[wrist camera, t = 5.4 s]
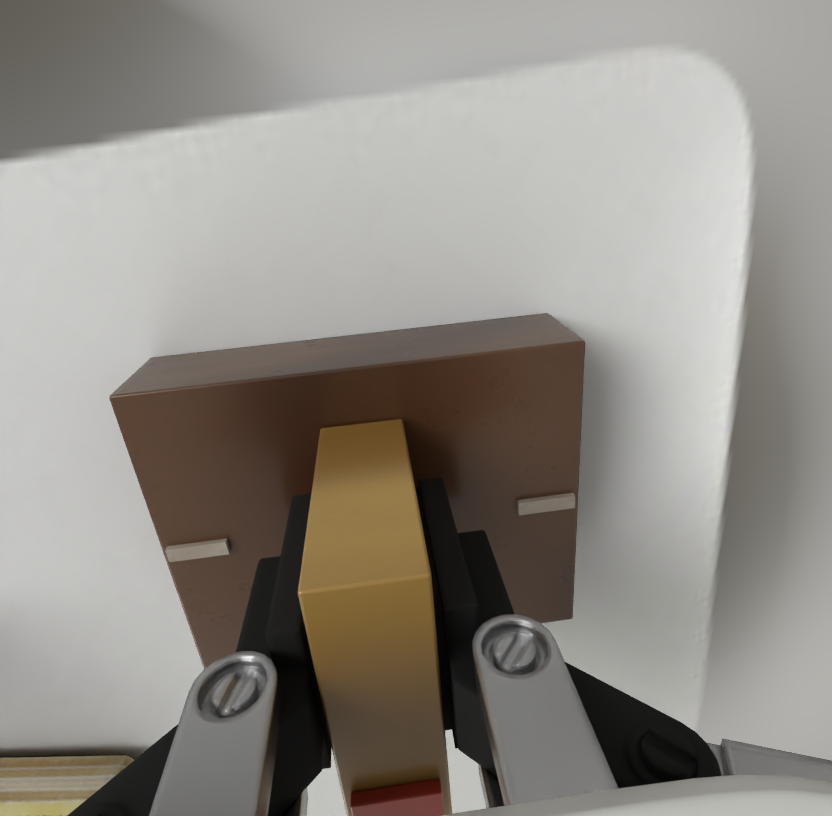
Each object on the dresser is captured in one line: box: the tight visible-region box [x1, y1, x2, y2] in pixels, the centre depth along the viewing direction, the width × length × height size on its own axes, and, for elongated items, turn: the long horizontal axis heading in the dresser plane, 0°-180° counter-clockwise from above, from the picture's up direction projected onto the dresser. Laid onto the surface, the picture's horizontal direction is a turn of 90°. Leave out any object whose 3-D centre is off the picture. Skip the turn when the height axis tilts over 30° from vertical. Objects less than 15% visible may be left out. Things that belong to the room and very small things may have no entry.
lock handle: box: [298, 419, 452, 816], centre depth 10 cm, size 6×2×5 cm, turn 5°
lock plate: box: [110, 313, 585, 669], centre depth 14 cm, size 10×8×3 cm
